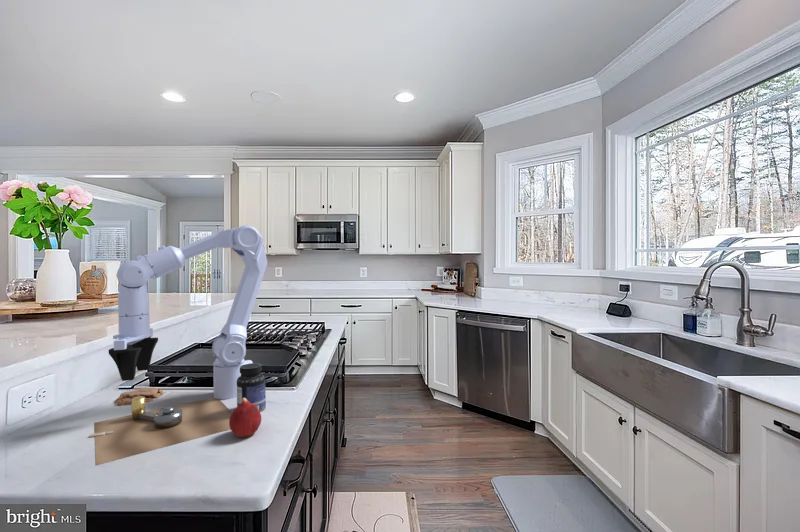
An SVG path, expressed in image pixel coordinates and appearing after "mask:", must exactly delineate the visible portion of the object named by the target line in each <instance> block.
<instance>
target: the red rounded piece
mask: <svg viewBox="0 0 800 532" xmlns="http://www.w3.org/2000/svg"><path fill="white" fill-rule="evenodd" d="M231 412H232V414H231V416H230V420H229V426H230V429H231V430H230V431H231V432H232V433H233V434H234V435H235V436H237V437H239V438H247V437H250V436H252V435H254V434H255V433H256V432H257V431H258V430H259V428H260V426H261V423H262V414H261V412H260V411H259V410H258V408H257V407H256V406H255V405H254V404H252V403H250V402H249V401H248V400H247V399H246V398H243V399H242V402H241V404H240V405H238V406H237V405H236V407H235V408H234V409H233V411H231Z"/></svg>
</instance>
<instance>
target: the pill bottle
mask: <svg viewBox="0 0 800 532" xmlns="http://www.w3.org/2000/svg"><path fill="white" fill-rule="evenodd" d="M262 367H263V366H262V364H261V363H257V362H253V363H250V364H245V365H242V366H240V373H241V376H240V377H239V378H238V379H237V397H236V407H237V406H238V405H240V404H241V402H242V399H243V398H246V399H247V400H248V401H249V402H250V403H252V404H254V405H255V406H256V407H257V408H258V410H259V411H260V413H261V412H263V411H265V410H266V407H267V404H266V403H267V401H266V376H265V375H264V374H263V373H262V370H263V368H262Z"/></svg>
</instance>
